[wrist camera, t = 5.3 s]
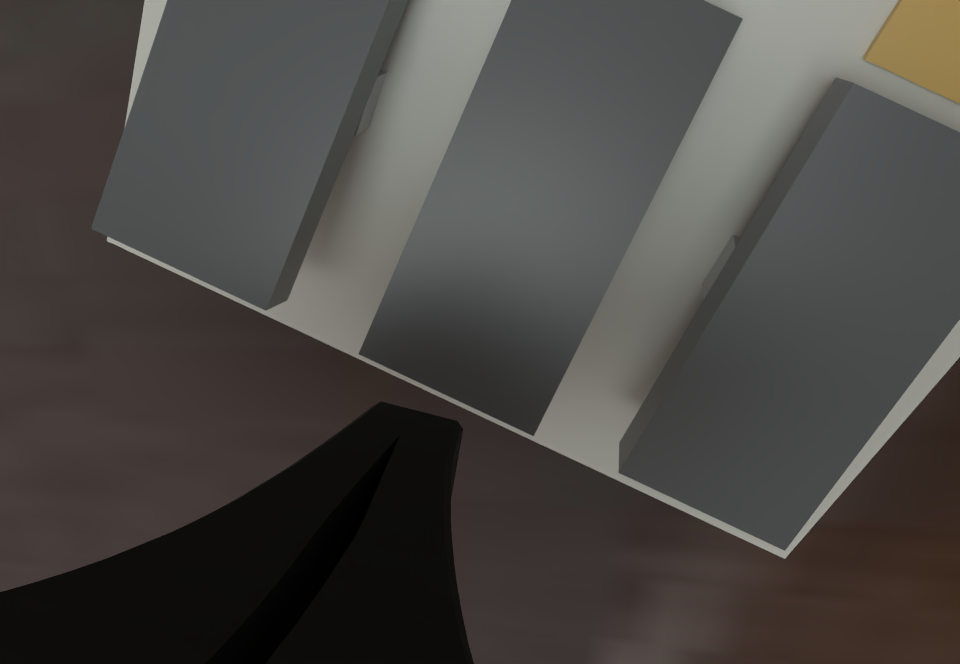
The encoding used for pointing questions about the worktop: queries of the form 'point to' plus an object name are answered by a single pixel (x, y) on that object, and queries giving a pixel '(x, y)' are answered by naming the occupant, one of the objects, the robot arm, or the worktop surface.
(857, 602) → the worktop surface
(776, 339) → the rocker
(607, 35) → the rocker
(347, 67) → the rocker
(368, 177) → the switch panel
